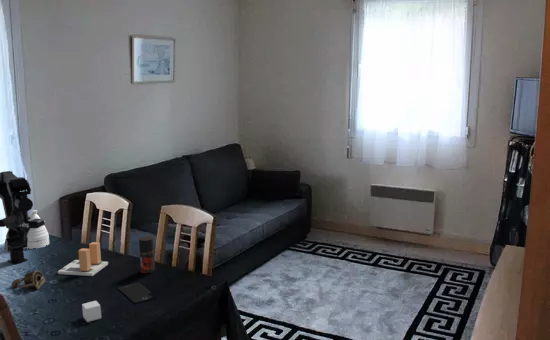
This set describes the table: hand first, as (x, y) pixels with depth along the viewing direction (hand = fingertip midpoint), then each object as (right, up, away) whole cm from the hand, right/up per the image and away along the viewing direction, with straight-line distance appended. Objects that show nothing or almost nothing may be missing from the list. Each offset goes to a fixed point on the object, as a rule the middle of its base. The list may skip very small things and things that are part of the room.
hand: (23, 241), depth 236 cm
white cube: (+44, -22, -43) cm, 66 cm away
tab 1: (+28, -12, -2) cm, 30 cm away
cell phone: (+55, -18, -23) cm, 62 cm away
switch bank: (+25, -12, +3) cm, 28 cm away
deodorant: (+54, -13, -1) cm, 56 cm away
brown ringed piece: (+9, -17, -15) cm, 24 cm away
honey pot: (-11, -7, +37) cm, 39 cm away
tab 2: (+29, -10, +6) cm, 32 cm away
